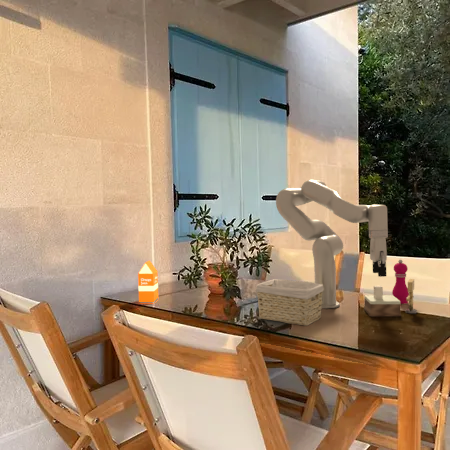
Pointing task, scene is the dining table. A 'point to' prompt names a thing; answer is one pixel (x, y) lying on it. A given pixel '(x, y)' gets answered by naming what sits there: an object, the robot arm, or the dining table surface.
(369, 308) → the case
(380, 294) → the cover
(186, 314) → the dining table surface
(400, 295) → the pepper mill
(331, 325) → the dining table surface
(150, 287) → the orange juice
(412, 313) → the silver metal disc
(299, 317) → the storage basket
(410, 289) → the key
